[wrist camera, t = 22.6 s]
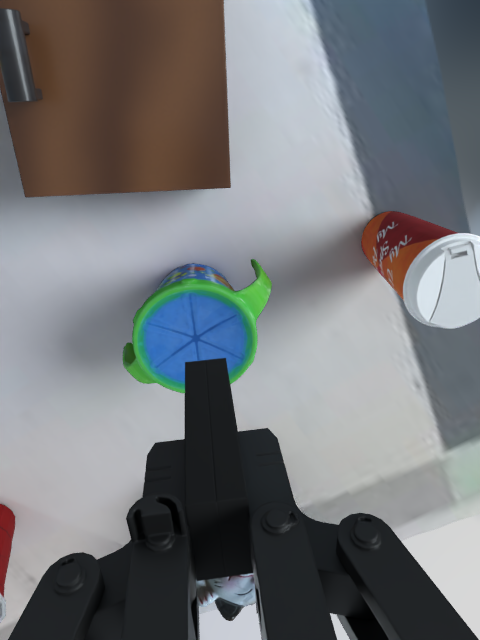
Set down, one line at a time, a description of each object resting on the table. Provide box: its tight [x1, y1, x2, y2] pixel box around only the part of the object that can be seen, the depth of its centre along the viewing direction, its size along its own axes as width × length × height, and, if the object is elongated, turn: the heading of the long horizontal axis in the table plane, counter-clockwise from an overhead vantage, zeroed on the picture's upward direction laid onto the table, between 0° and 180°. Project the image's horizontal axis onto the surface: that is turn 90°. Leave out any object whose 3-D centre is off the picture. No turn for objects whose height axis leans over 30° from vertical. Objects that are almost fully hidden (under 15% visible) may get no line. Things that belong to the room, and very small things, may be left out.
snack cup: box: [123, 259, 272, 393], centre depth 43 cm, size 16×11×10 cm
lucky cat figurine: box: [196, 573, 256, 621], centre depth 55 cm, size 15×12×14 cm
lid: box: [0, 0, 231, 197], centre depth 31 cm, size 16×18×5 cm
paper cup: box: [361, 211, 480, 329], centre depth 40 cm, size 8×8×14 cm
